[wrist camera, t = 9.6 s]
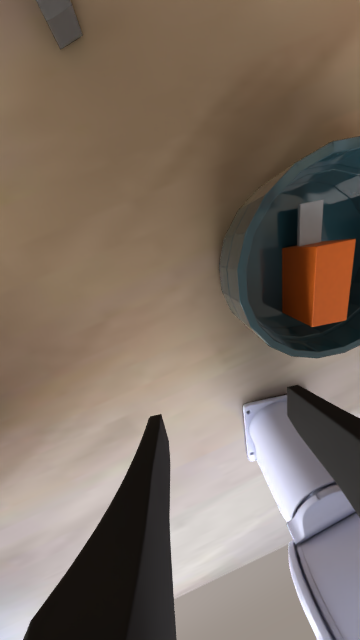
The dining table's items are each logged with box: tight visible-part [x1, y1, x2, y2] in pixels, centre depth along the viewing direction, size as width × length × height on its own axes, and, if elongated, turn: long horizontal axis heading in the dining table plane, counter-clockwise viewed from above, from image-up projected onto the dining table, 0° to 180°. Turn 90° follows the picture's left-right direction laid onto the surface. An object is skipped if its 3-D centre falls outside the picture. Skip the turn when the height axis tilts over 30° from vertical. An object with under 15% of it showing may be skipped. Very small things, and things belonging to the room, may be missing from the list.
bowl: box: [219, 136, 360, 358], centre depth 15 cm, size 14×14×5 cm
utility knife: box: [282, 200, 356, 327], centre depth 15 cm, size 9×3×4 cm, turn 10°
